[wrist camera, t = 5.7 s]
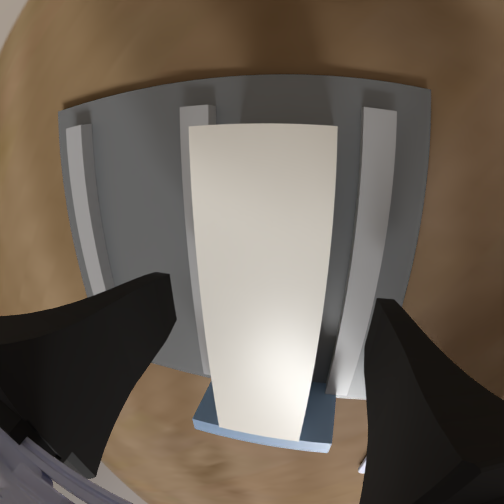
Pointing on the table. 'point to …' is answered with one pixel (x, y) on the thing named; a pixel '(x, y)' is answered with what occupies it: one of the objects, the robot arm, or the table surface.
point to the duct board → (182, 224)
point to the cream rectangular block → (262, 265)
